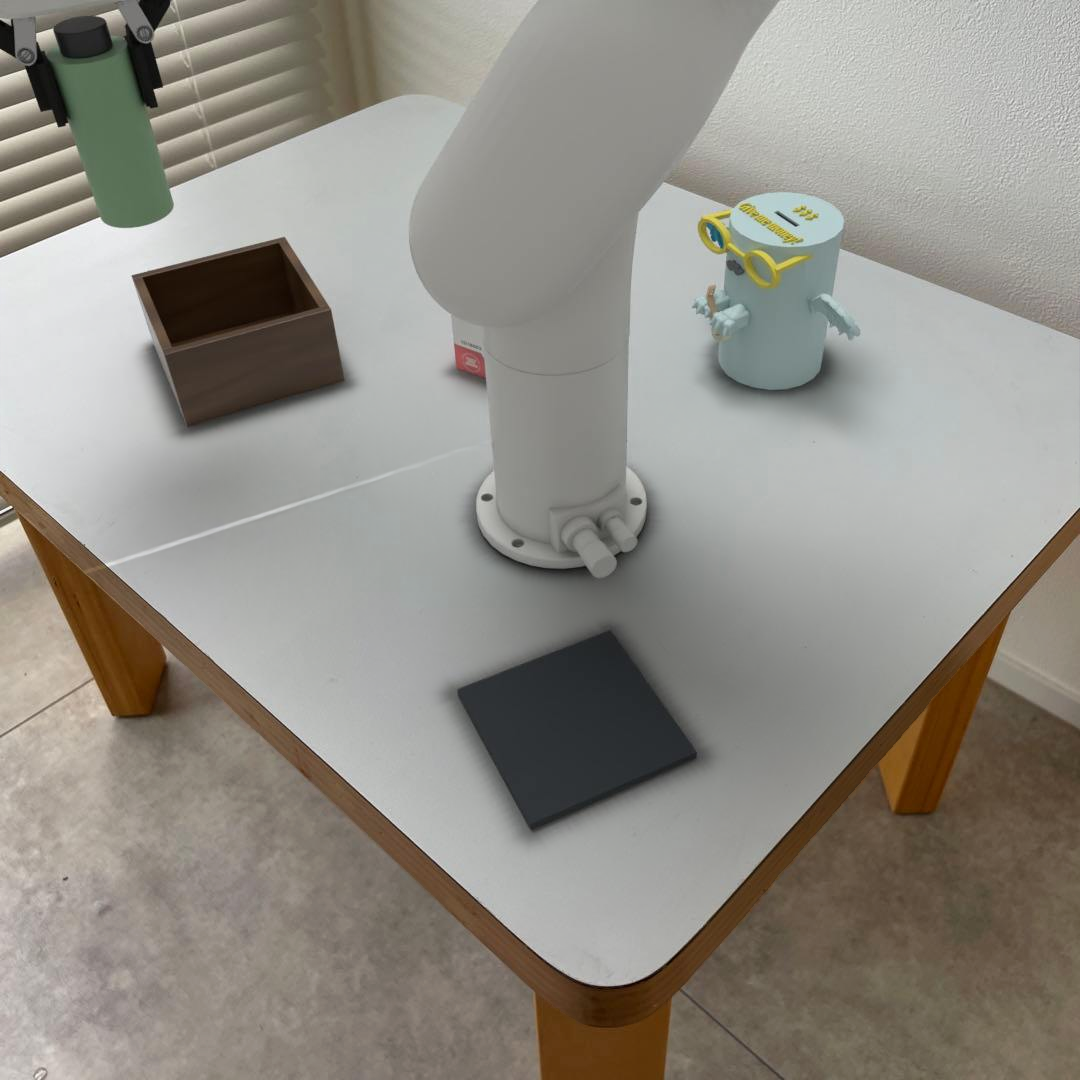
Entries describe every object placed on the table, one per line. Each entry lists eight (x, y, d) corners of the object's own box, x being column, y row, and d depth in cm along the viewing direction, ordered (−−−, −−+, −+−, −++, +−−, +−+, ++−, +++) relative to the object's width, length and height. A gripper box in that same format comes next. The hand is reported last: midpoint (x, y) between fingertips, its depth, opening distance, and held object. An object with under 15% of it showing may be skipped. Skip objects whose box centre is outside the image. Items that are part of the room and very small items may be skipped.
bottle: (180, 217, 78) (126, 29, 69) (106, 235, 77) (42, 45, 68) (167, 188, 81) (114, 5, 73) (96, 204, 80) (33, 19, 71)
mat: (696, 757, 68) (697, 752, 68) (530, 830, 65) (530, 824, 64) (610, 635, 75) (610, 629, 75) (457, 694, 72) (456, 689, 72)
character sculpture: (636, 329, 102) (640, 188, 92) (741, 292, 105) (755, 153, 96) (774, 449, 89) (794, 300, 79) (888, 403, 92) (920, 255, 83)
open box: (345, 383, 97) (331, 309, 92) (188, 430, 93) (164, 355, 88) (299, 308, 106) (284, 236, 101) (154, 347, 102) (131, 274, 97)
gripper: (-169, -187, 57) (-28, 161, 69) (172, -230, 61) (247, 103, 74) (-166, -212, 62) (-35, 116, 74) (149, -251, 66) (222, 65, 79)
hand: (105, 107), depth 74 cm, fingers closed on bottle, 5 cm apart
